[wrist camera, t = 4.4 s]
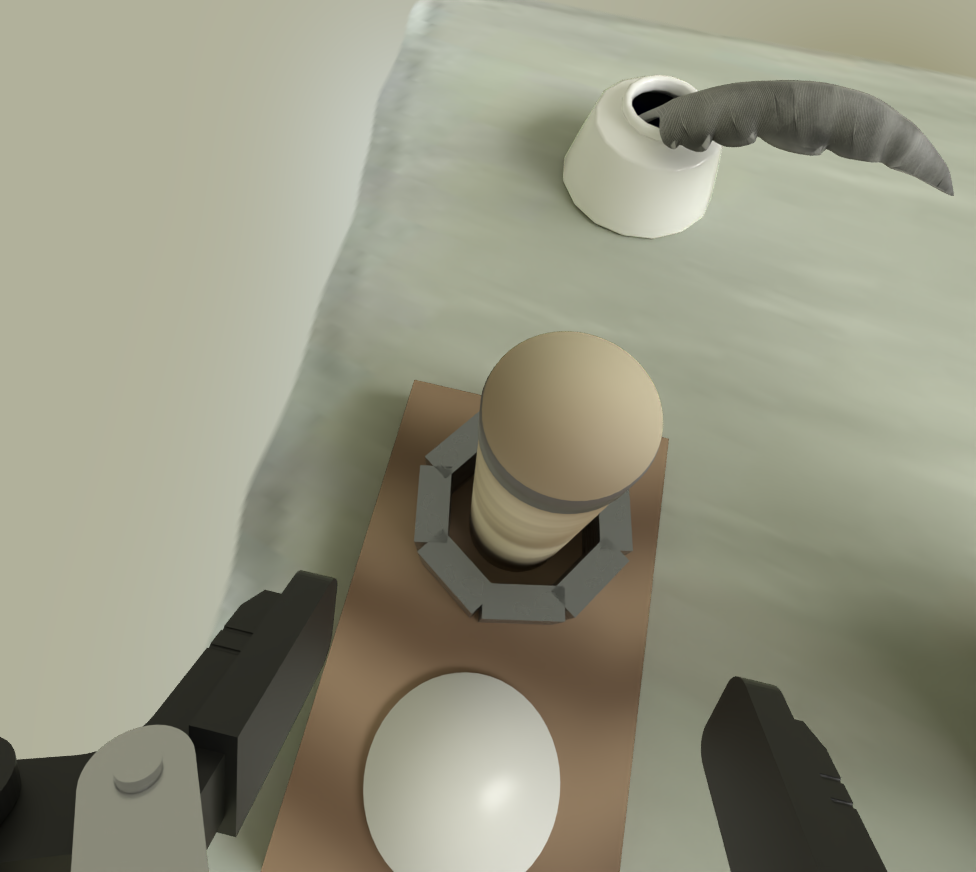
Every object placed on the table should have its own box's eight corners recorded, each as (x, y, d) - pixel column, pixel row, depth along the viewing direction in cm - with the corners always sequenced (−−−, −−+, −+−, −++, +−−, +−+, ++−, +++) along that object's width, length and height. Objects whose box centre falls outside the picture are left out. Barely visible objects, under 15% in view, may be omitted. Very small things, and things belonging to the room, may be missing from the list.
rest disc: (468, 632, 22) (469, 632, 21) (598, 781, 20) (600, 783, 20) (324, 774, 20) (322, 775, 19) (455, 951, 18) (455, 957, 18)
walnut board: (417, 398, 27) (414, 379, 25) (653, 453, 27) (668, 438, 25) (269, 879, 20) (250, 903, 18) (591, 963, 20) (605, 997, 18)
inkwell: (615, 103, 36) (672, -89, 26) (866, 251, 32) (1032, 92, 23) (530, 185, 33) (561, 1, 23) (796, 356, 29) (955, 222, 20)
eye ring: (518, 402, 25) (526, 372, 22) (647, 530, 23) (673, 514, 21) (382, 518, 23) (372, 500, 20) (514, 668, 21) (523, 672, 18)
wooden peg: (517, 459, 24) (570, 298, 13) (583, 527, 23) (702, 417, 12) (447, 521, 23) (441, 402, 12) (515, 594, 22) (576, 542, 11)
